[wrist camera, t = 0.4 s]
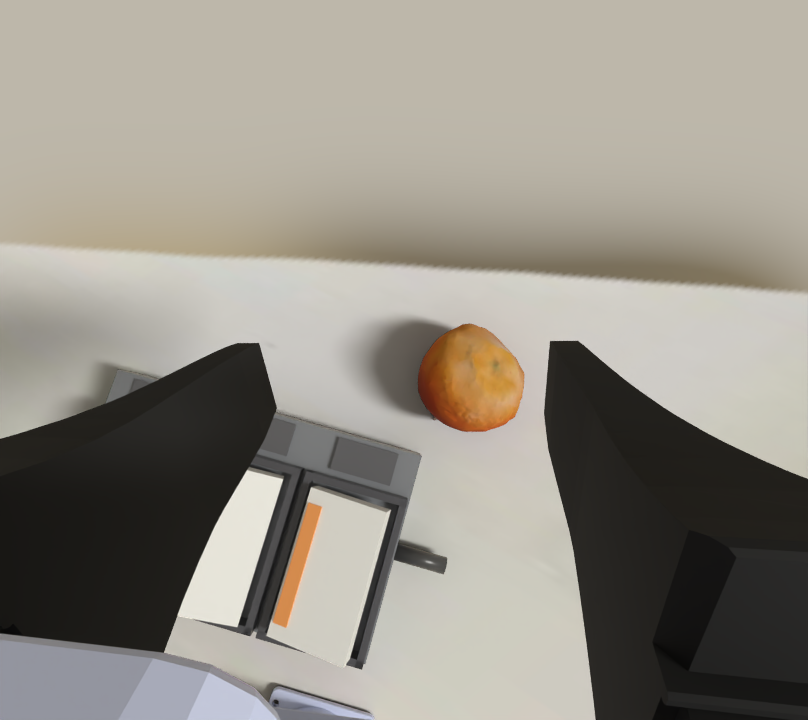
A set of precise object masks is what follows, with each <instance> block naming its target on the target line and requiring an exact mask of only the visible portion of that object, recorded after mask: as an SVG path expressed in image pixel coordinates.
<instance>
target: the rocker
mask: <svg viewBox="0 0 808 720" xmlns="http://www.w3.org/2000/svg"><path fill="white" fill-rule="evenodd" d="M390 511H391V510H390V509H387V508H384V507H381V506H378V505H375V504H372V503H369V502H366V501H363V500H360V499H357V498H354V497H351V496H348V495H345V494H342V493H339V492H336V491H333V490H330V489H327V488H324V487H321V486H315V487H311V489H310V493H309V496H308V499H307V503H306V506H305V509H304V512H303V516H302V519H301V522H300V526H299V529H298V532H297V536H296V539H295V542H294V546H293V549H292V552H291V556H290V559H289V562H288V566H287V569H286V572H285V576H284V579H283V582H282V586H281V589H280V592H279V595H278V599H277V602H276V605H275V609H274V612H273V615H272V619H271V622H270V625H269V629H268V632H267V635H266V636H268V637H270V638H273V639H275V640H277V641H280V642H282V643H284V644H287V645H289V646H291V647H294V648H296V649H298V650H301V651H303V652H305V653H308V654H310V655H313V656H315V657H317V658H320V659H322V660H324V661H327V662H329V663H331V664H334V665H336V666H338V667H341V668H344V667H345V665H346V664H347V662H348V661H349V659H350V656H351V653H352V649H353V646H354V642H355V638H356V635H357V631H358V627H359V624H360V620H361V617H362V613H363V609H364V606H365V602H366V598H367V595H368V591H369V588H370V584H371V580H372V577H373V573H374V569H375V566H376V562H377V559H378V555H379V551H380V548H381V544H382V540H383V537H384V533H385V530H386V526H387V522H388V519H389V515H390Z"/></svg>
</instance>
